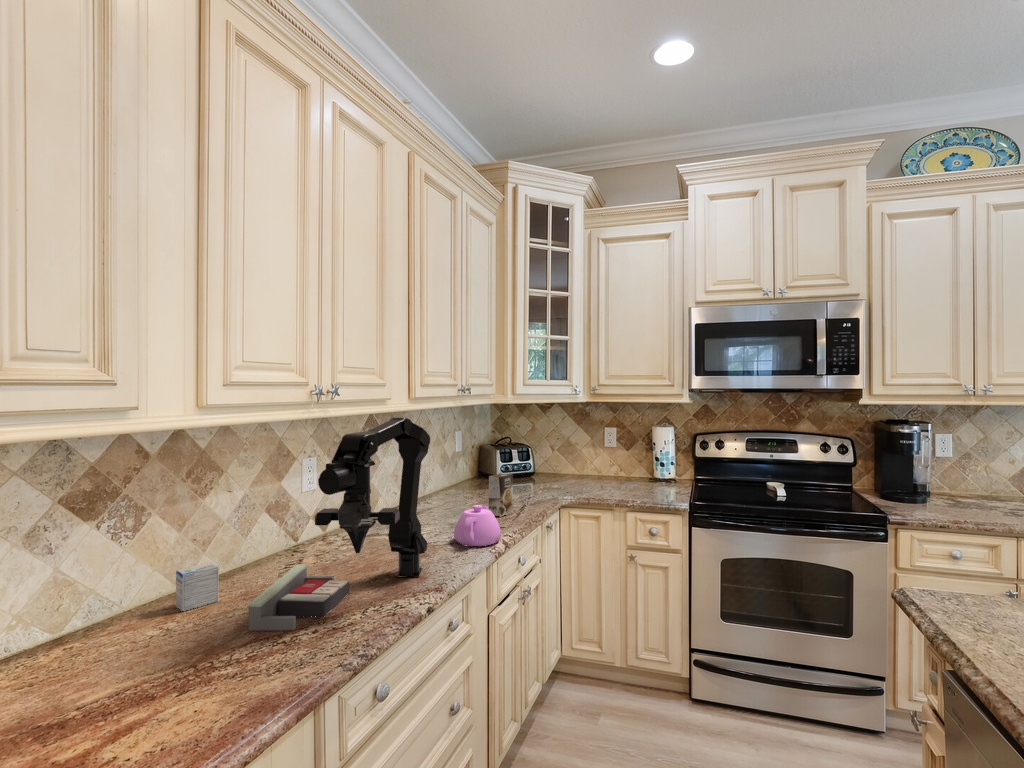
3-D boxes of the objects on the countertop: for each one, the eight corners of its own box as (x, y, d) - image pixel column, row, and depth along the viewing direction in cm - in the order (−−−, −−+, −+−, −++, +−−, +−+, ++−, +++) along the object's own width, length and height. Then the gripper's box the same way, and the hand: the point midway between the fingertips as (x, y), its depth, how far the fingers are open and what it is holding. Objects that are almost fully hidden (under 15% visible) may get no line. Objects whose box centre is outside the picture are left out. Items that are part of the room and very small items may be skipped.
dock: (296, 586, 141) (296, 564, 141) (333, 585, 141) (333, 564, 141) (248, 630, 115) (248, 604, 115) (293, 630, 115) (293, 603, 115)
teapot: (492, 552, 170) (491, 513, 170) (444, 549, 173) (444, 511, 173) (507, 534, 191) (507, 499, 191) (465, 532, 194) (465, 498, 194)
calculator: (350, 579, 136) (324, 598, 121) (349, 596, 136) (323, 618, 121) (307, 578, 137) (276, 597, 122) (307, 595, 137) (276, 617, 122)
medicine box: (211, 597, 133) (211, 562, 133) (219, 602, 130) (219, 565, 130) (175, 607, 127) (175, 570, 127) (182, 612, 124) (182, 574, 124)
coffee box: (501, 517, 215) (501, 477, 215) (488, 516, 219) (488, 475, 219) (513, 513, 223) (513, 473, 223) (500, 511, 226) (500, 472, 227)
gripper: (305, 493, 121) (305, 564, 121) (389, 493, 121) (389, 563, 121) (322, 484, 132) (323, 549, 132) (399, 484, 132) (400, 548, 132)
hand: (358, 552), depth 129 cm, fingers closed
